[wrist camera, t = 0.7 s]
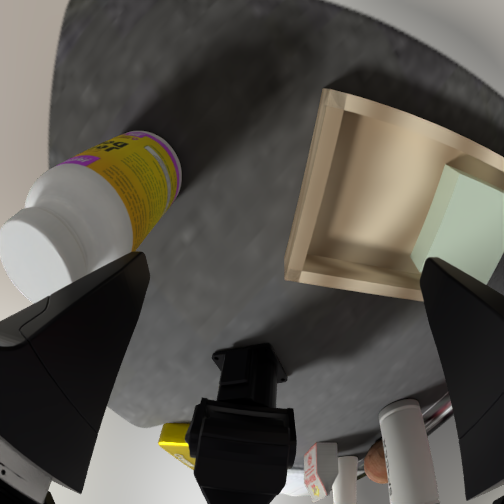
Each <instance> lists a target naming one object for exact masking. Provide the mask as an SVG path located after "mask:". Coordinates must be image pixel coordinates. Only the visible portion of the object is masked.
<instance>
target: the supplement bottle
mask: <svg viewBox="0 0 504 504" xmlns="http://www.w3.org/2000/svg"><path fill="white" fill-rule="evenodd" d="M181 181H182V172H181V166H180V162H179V159H178V157H177V155H176V153H175V152H174V150H173V149H172V147H171V146H170V145H169V144H168V143H167V142H166V141H165V140H164V139H162V138H161V137H159V136H157V135H155V134H153V133H150V132H146V131H131V132H127V133H125V134H122V135H119V136H117V137H114V138H112V139H110V140H108V141H106V142H103V143H101V144H99V145H97V146H95V147H92V148H90V149H88V150H86V151H84V152H82V153H80V154H78V155H76V156H74V157H72V158H70V159H68V160H66V161H65V162H63V163H61V164H59V165H57V166H55V167H53V168H51V169H50V170H48V171H46V172H45V173H44V174H42V175H41V176H40V177H39V178H38V179H37V180H36V182H35V183H34V184H33V186H32V187H31V189H30V191H29V194H28V196H27V199H26V204H25V208H24V209H22V210H20V211H19V212H18V213H17V214H15V215H14V216H13V217H11V218H10V219H9V220H8V221H7V222H5V223H4V225H3V226H2V228H1V230H0V258H1V262H2V264H3V267H4V269H5V271H6V273H7V275H8V277H9V278H10V280H11V281H12V283H13V284H14V285H15V287H16V288H17V289H18V290H19V291H20V292H21V293H22V294H23V295H24V296H25V297H26V298H28V300H30V301H31V302H32V303H36V302H38V301H40V300H42V299H43V298H45V297H47V296H50V295H51V294H52V293H54V292H56V291H58V290H60V289H61V288H63V287H65V286H67V285H69V284H71V283H72V282H74V281H76V280H78V279H80V278H82V277H84V276H85V275H87V274H89V273H91V272H93V271H95V270H97V269H99V268H101V267H103V266H104V265H106V264H108V263H110V262H112V261H114V260H116V259H118V258H120V257H122V256H124V255H126V254H128V253H130V252H133V251H136V249H137V248H138V247H139V245H140V244H141V243H142V241H143V240H144V239H145V237H146V236H147V235H148V234H149V232H150V231H151V230H152V228H153V227H154V226H155V225H156V223H157V222H158V221H159V220H160V218H161V217H162V216H163V215H164V214H165V212H166V211H167V210H168V208H169V207H170V206H171V205H172V203H173V202H174V200H175V199H176V197H177V195H178V193H179V191H180V187H181Z"/></svg>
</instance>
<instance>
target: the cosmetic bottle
mask: <svg viewBox="0 0 504 504" xmlns="http://www.w3.org/2000/svg"><path fill="white" fill-rule="evenodd" d="M357 465H358V458H357V457H355V456H343V457H338V470H339V473H338V475H337V477H336V479H335V481H334V483H333V485H332V489H333V500H334V504H356V481H357Z"/></svg>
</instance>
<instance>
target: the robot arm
mask: <svg viewBox="0 0 504 504" xmlns="http://www.w3.org/2000/svg"><path fill="white" fill-rule="evenodd" d="M149 280H150V273H149V268H148V264H147V260H146V256H145V254H144V253H143V252H136V251H133V252H130V253H128V254H126V255H124V256H122V257H120V258H118V259H116V260H114V261H112V262H110V263H108V264H106V265H104V266H103V267H101V268H99V269H97V270H95V271H93V272H91V273H89V274H87V275H85V276H84V277H82V278H80V279H78V280H76V281H74V282H72V283H71V284H69V285H67V286H65V287H63V288H61V289H60V290H58V291H56V292H54V293H52V294H51V295H50V296H47V297H45V298H43V299H42V300H40V301H38V302H36V303H34V304H33V305H31V306H29V307H27V308H25V309H23V310H21V311H19V312H18V313H16V314H14V315H12V316H10V317H8V318H6V319H4V320H2V321H0V504H55V502H54V500H53V497H52V495H51V493H50V492H49V491H48V489H49V486H50V484H51V481H54V482H56V483H58V484H60V485H62V486H64V487H66V488H68V489H70V490H73V491H75V492H77V493H79V494H81V493H82V490H83V486H84V483H85V479H86V475H87V471H88V467H89V464H90V460H91V457H92V453H93V450H94V446H95V443H96V439H97V436H98V434H97V433H98V432H99V429H100V426H101V422H102V419H103V416H104V413H105V410H106V407H107V404H108V401H109V398H110V395H111V392H112V389H113V386H114V383H115V380H116V377H117V374H118V372H119V369H120V366H121V363H122V361H123V358H124V355H125V353H126V350H127V347H128V345H129V342H130V339H131V337H132V334H133V332H134V329H135V327H136V324H137V321H138V319H139V315H140V312H141V309H142V305H143V301H144V298H145V294H146V291H147V288H148V284H149ZM420 288H421V292H422V296H423V300H424V304H425V309H426V313H427V317H428V321H429V325H430V328H431V331H432V334H433V338H434V341H435V344H436V347H437V350H438V354H439V357H440V361H441V364H442V368H443V371H444V375H445V379H446V383H447V387H448V391H449V395H450V399H451V403H452V408H453V413H454V417H455V422H456V428H457V432H458V438H459V439H460V440H459V445H460V452H461V459H462V466H463V474H464V484H465V495H466V500H467V501H468V500H470V499H473V498H475V497H478V496H480V495H482V494H485V493H487V492H489V491H491V490H493V489H495V488H498V487H500V486H502V485H504V296H503V295H502V294H500V293H498V292H497V291H495V290H494V289H492V288H490V287H489V286H487V285H485V284H484V283H482V282H480V281H479V280H477V279H475V278H474V277H472V276H470V275H469V274H467V273H465V272H464V271H462V270H460V269H458V268H457V267H455V266H453V265H451V264H450V263H448V262H446V261H444V260H442V259H441V258H439V257H428V258H427V259H426V260H425V263H424V267H423V270H422V273H421V277H420ZM266 348H267V349H266ZM212 359H213V361H214V362H215V364H216V365H217V366H218V368H219V369H220V370H221V376H220V381H219V384H220V385H219V391H218V396H217V401H214V400H208V398H202V400H201V403H200V404H198V405H196V406H195V410H194V415H193V418H192V421H191V423H190V426H189V428H188V430H187V432H186V435H185V441H186V443H187V444H188V445H189V450H190V457H191V458H196V460H195V466H194V476H195V478H196V480H197V482H198V484H199V487H200V489H201V491H202V493H203V495H204V497H205V499H206V501H207V503H208V504H269V503H270V502H271V501H272V500H273V499H274V497H275V496H276V495H278V494H279V493H280V492H281V490H282V489H283V487H284V486H285V484H286V477H287V469H291V468H292V466H293V464H294V460H295V455H296V445H297V440H296V429H295V420H294V411H293V408H287V409H282V408H276V394H277V383H282V382H286V381H287V375H286V373H285V371H284V369H283V367H282V365H281V363H280V361H279V359H278V357H277V356H276V354H275V352H274V350H273V348H272V346H271V345H270V344H261V345H256V346H251V347H245V348H240V349H234V350H228V351H222V352H216V353H213V355H212ZM493 504H504V496H502V497H500V498H498V499H497V500H495V501H494V502H493Z"/></svg>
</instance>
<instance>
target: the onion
mask: <svg viewBox="0 0 504 504" xmlns="http://www.w3.org/2000/svg"><path fill="white" fill-rule="evenodd" d="M368 451H369V452H368V453H367V455H366V457H365V458H364V461H365V462H364V469H365V472H366V474H367V476H368V477H369V478H370V479H371V480H372V481H374V482H377V483H388V476H387V468H386V460H385V453H384V446H383V440H380V441H379V440H378V441H377V442H375V444H373V445H372V446H371V447H370V448H369V450H368Z"/></svg>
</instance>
